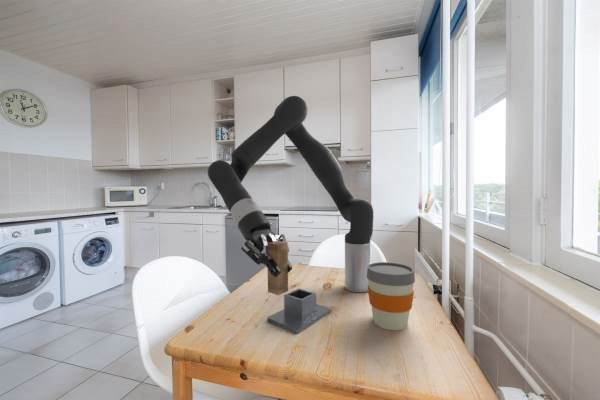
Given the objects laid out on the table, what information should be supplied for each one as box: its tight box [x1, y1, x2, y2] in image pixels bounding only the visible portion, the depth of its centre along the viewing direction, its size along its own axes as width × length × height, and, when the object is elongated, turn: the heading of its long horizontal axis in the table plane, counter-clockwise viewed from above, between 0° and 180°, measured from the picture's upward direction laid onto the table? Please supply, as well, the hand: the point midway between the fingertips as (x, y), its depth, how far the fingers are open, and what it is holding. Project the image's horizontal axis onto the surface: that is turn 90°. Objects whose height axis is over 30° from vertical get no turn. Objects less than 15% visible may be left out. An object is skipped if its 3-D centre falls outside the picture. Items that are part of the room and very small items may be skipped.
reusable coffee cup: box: [367, 261, 416, 331], centre depth 73 cm, size 12×13×15 cm
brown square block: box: [267, 241, 289, 296], centre depth 65 cm, size 4×4×12 cm
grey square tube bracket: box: [266, 288, 333, 335], centre depth 77 cm, size 16×11×6 cm
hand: (283, 272), depth 64 cm, fingers closed on brown square block, 3 cm apart
